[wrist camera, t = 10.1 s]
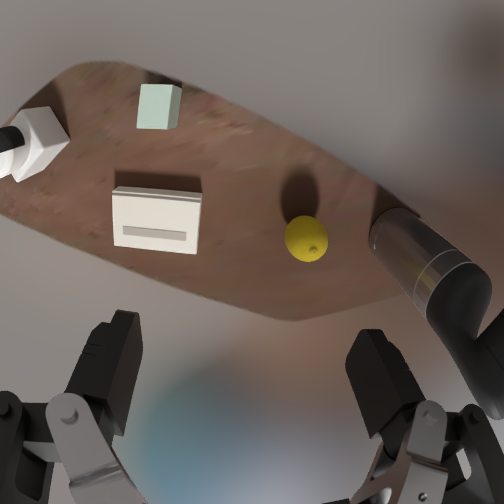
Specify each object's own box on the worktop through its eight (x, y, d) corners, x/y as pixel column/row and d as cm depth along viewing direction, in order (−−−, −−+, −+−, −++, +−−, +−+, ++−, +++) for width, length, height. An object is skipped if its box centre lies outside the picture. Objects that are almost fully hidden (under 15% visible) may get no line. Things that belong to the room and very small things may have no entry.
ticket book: (202, 193, 38) (200, 198, 35) (197, 246, 41) (195, 254, 39) (118, 186, 36) (112, 191, 34) (119, 238, 40) (114, 245, 37)
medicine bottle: (23, 136, 30) (-29, 153, 20) (50, 105, 29) (-4, 112, 18) (43, 170, 33) (-6, 196, 23) (71, 140, 32) (20, 157, 21)
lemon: (302, 249, 43) (316, 279, 36) (272, 231, 41) (281, 259, 34) (325, 220, 41) (344, 245, 34) (295, 200, 39) (310, 222, 32)
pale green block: (182, 88, 31) (172, 84, 25) (177, 126, 33) (167, 129, 28) (155, 87, 30) (141, 83, 25) (151, 124, 33) (136, 128, 27)
